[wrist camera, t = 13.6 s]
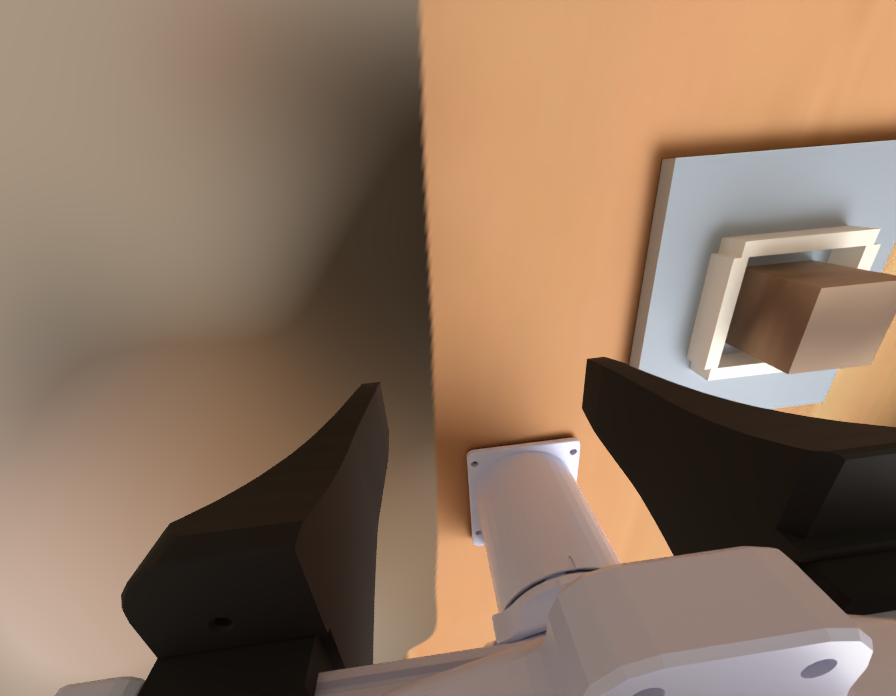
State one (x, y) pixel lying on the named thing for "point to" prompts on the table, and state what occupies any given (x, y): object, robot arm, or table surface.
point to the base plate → (753, 255)
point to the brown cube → (812, 315)
